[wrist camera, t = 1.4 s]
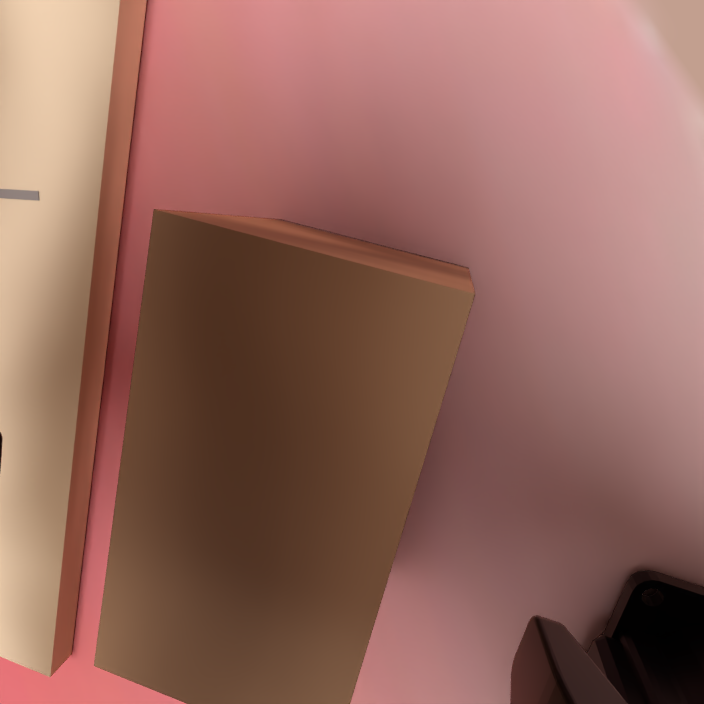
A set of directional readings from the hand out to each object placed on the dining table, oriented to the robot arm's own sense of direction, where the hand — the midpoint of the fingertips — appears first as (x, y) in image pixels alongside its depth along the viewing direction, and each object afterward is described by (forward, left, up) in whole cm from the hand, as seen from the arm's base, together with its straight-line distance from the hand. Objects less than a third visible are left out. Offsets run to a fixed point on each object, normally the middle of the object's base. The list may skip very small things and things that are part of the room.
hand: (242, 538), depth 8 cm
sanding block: (0, 0, -7) cm, 7 cm away
